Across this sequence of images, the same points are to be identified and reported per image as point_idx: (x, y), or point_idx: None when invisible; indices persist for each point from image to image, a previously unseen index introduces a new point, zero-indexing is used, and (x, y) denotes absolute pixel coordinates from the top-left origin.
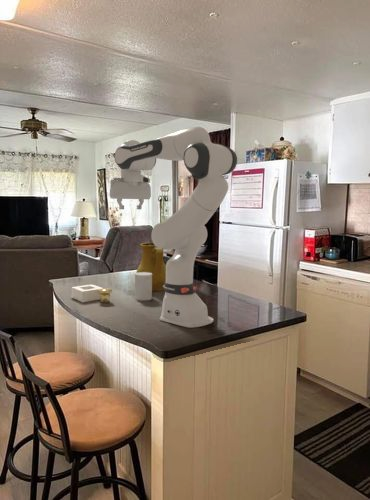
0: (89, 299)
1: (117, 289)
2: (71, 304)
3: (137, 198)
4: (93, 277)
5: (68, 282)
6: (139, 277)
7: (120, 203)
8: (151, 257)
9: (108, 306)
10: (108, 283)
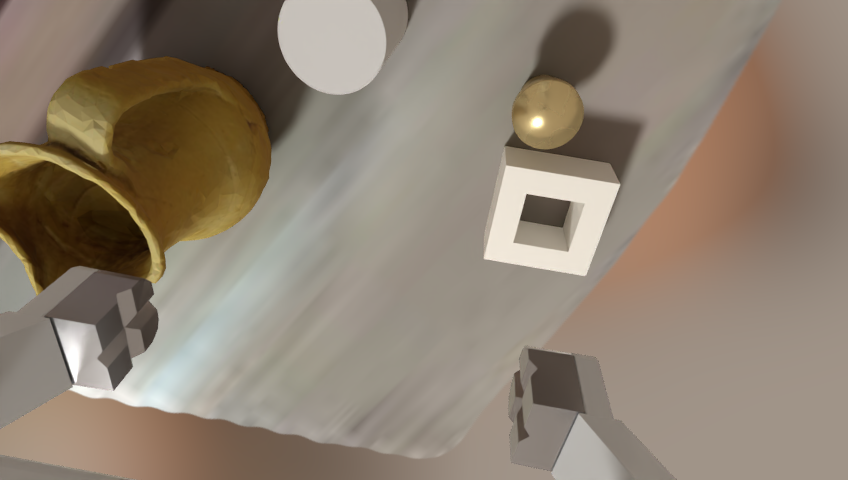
0: (576, 160)
1: (350, 224)
2: (665, 167)
3: (27, 472)
4: (304, 412)
5: (423, 413)
6: (384, 18)
7: (657, 461)
8: (154, 159)
9: (594, 18)
10: (316, 318)
